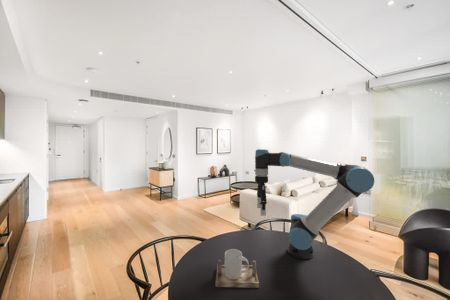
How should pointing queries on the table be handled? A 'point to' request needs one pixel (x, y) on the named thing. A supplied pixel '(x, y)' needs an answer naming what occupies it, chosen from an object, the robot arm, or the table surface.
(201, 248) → the table surface
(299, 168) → the robot arm
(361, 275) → the table surface
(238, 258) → the mug
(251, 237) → the table surface
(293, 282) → the table surface
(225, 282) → the tray
